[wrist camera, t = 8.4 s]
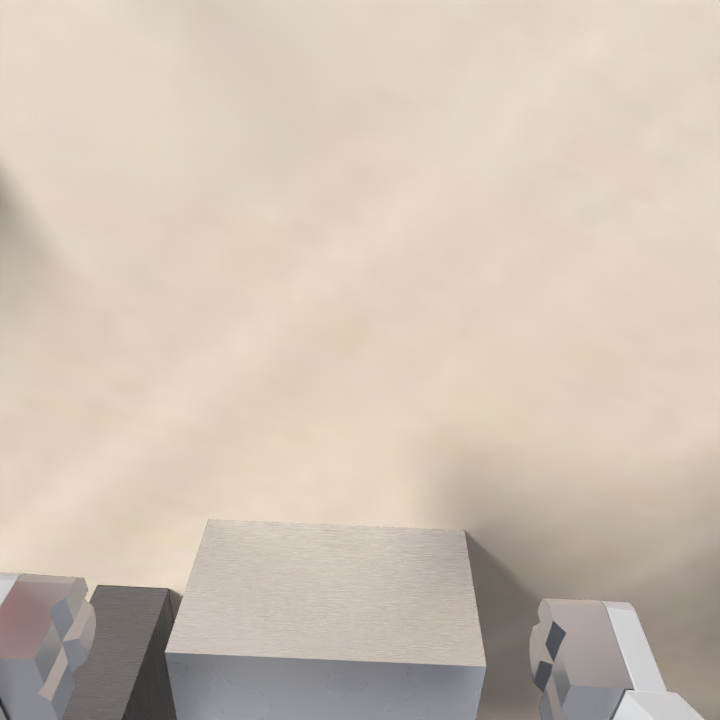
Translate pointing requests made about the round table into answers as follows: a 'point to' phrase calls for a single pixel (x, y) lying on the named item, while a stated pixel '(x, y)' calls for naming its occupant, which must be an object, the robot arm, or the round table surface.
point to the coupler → (126, 658)
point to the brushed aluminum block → (327, 625)
